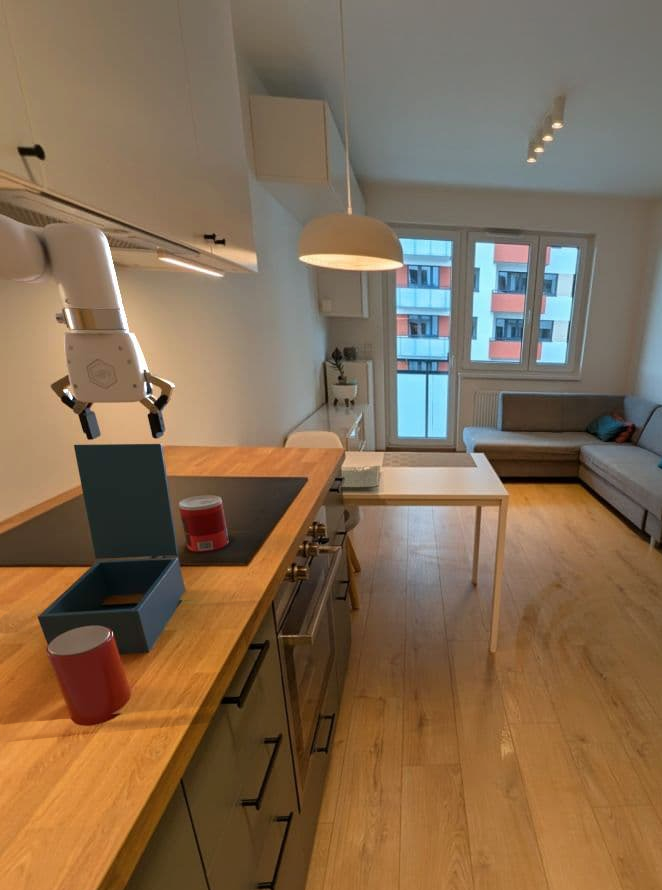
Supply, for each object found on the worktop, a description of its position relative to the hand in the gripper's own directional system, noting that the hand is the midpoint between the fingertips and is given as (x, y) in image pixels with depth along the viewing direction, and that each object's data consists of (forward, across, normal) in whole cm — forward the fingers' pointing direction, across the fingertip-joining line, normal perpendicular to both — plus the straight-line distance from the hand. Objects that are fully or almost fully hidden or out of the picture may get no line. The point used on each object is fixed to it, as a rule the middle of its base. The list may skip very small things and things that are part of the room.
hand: (126, 437), depth 83 cm
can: (+27, +4, -34) cm, 44 cm away
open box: (+27, 0, -15) cm, 31 cm away
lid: (+10, 0, -5) cm, 11 cm away
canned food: (+27, +4, +14) cm, 31 cm away
